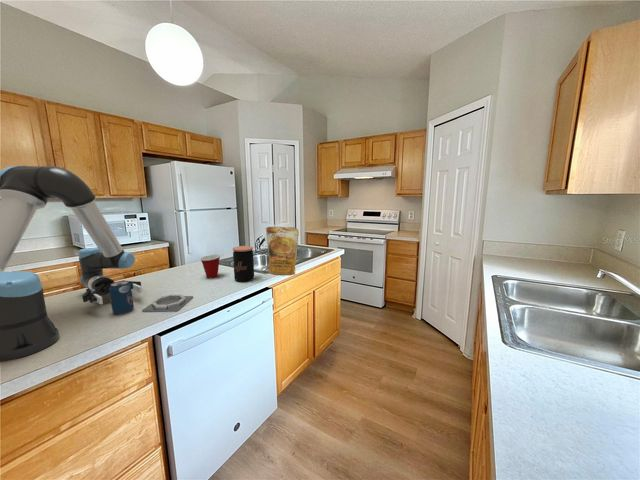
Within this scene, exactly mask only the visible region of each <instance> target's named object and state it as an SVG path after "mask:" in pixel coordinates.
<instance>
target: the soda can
mask: <svg viewBox="0 0 640 480" xmlns="http://www.w3.org/2000/svg"><path fill="white" fill-rule="evenodd" d="M128 281H129V280H125V281H123V280H118V281H114V283H112V284H111V286H110V288H109V292H110V293H109V297H110V305H111V310H112V312H113V313H114V314H116V315H124V314H127V313H129V312H132V311H133V309H134V306H135V304H134V299H133V298H134V297H133V291H132V290H133V289H131V285H130V284H129V282H128Z"/></svg>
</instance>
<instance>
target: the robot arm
mask: <svg viewBox="0 0 640 480" xmlns="http://www.w3.org/2000/svg"><path fill="white" fill-rule="evenodd" d="M0 198H1V199H0V362H5V361H10V360H15V359H19V358H24V357H26V356H29V355H32V354H33V355H34V354H35V353H38V352H40V351H42V350H44V349H46V348H48V347H51V346H52V345H54V344H55V343H56V342H57V341H58V340H59V339H60V332H59V329H58V328H57V327H56V325H55V323H54V322H53V321H52V319H50V318H49V316H48V312H47V307H46V300H45V294H44V290H43V283H42V282H41V280H40V276H39V275H38V274H37V273H35V272H33V271H29V270H28V271H27V270H12V271H5V269H6V267H7V266H8V264H9V262H10V261H11V258H12V257H13V254H14V253H15V251H16V249H17V247H18V245H20V244H19V243H20V241H21V240H22V238H23V236H24V234H25V232H26V230H27V228H28V226H29V225H30V223H31V221H32V219H33V217H34V215H35V214H36V212H37V210H40V209H44V208H45V207H46V205H47V203H48V202H49V200H50V199H58V200H60V201H61V202H62V203H63V204H64V206H65V207H67V208H70V209H71V210H72V212H73V213H74V215H75V216H76V218H77V219H78V221H79V222H80V223H81V225H82V226H83V228H84V229H85V231H86V232H87V234H88V235H89V237H90V238H91V239H92V242H94V245H96V247H86V248H82V249H81V248H80V249H79V250H78V260H79V266H80V271H81V276H80V279H79V282H80V284H81V285H82V287H84V288H85V292H84V293H83V295H82V296H81V297H82V301H83V303H86V302H88V301H89V303H90V304H93V303H95V302H96V303H97V304H99V305H103V304H104V302H103V296H105V295H108V294H109V295H110V292H109V288H110V286H111V284H112V283H114V282H115V281H114V280H113V279H112V278H110V277H108V276H105V275H104V269H107V270H108V269H110V270H111V269H120V270H122V269H130V268H132V267H133V265H134V264H135V261H136V260H135V259H136V258H135V255H134V253H132V252H129V251H125V250H124V249H123V247H122V244H121V243H120V242H119V239H118V238H117V236H116V235H115V234H114V232H113V230H112V229H111V227H110V225H109V223H108V222H107V220H106V218H105V217H104V215H103V213H102V211H101V210H100V208H99V207H98V205H97V203H96V202H95V201H96V199H97V198H96V196H95V194H94V192H93V191H92V189H91V188H90V186H89V185H88V184H86V182H84V180H83V179H81V178H80V177H79V176H78V175H77V174H75V173H73V172H72V171H70V170H69V169H66V168H64V167H60V166H56V165H47V166H46V165H43V166H40V165H38V166H37V165H35V166H33V165H30V166H29V165H15V166H8V167H5V168H3V169H2V170H0ZM122 281H126V280H123V279H122ZM127 281H128V282H129V284H130V285H131V289H132V290H133V291H134V292H137V293H139V294H142V293H143V288H142V282H141V281H137V280H136V281H135V280H134V281H133V280H127Z"/></svg>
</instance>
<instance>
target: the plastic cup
mask: <svg viewBox="0 0 640 480" xmlns="http://www.w3.org/2000/svg"><path fill="white" fill-rule="evenodd" d="M220 259H221V255H220V254H208V255H205V256H202V257H200V258H199V260H200V262H201V263H202V267H203V269H204V273H205V276H206V278H207V279H215V278H217V277H218V275H219V269H220V268H219V267H220V266H219V265H220Z"/></svg>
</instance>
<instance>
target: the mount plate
mask: <svg viewBox="0 0 640 480" xmlns="http://www.w3.org/2000/svg"><path fill="white" fill-rule="evenodd" d="M193 298H194V296H193V295H183V294H168V295H164V296H160V297H157V298H156V299H154V300H153V301H152V302H151V303H150V304H148V305H147V306H146V307H144V308H143V309H141V313H158V312H159V313H161V312H162V313H166V312H167V313H168V312H170V313H171V312H173V313H174V312H175V313H176V312H179V311H180V310H181V309H182V308H184V307H185V306H186V305H187V304H188V303H189V302H190V301H191V300H192V299H193Z"/></svg>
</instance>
